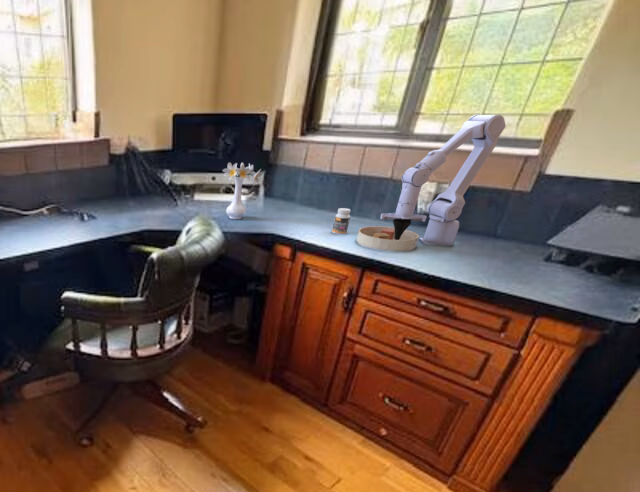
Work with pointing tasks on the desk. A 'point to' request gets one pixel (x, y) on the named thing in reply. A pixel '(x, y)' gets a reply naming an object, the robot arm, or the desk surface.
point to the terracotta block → (389, 233)
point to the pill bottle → (341, 221)
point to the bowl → (403, 244)
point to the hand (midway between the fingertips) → (396, 239)
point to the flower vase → (239, 187)
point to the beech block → (381, 235)
